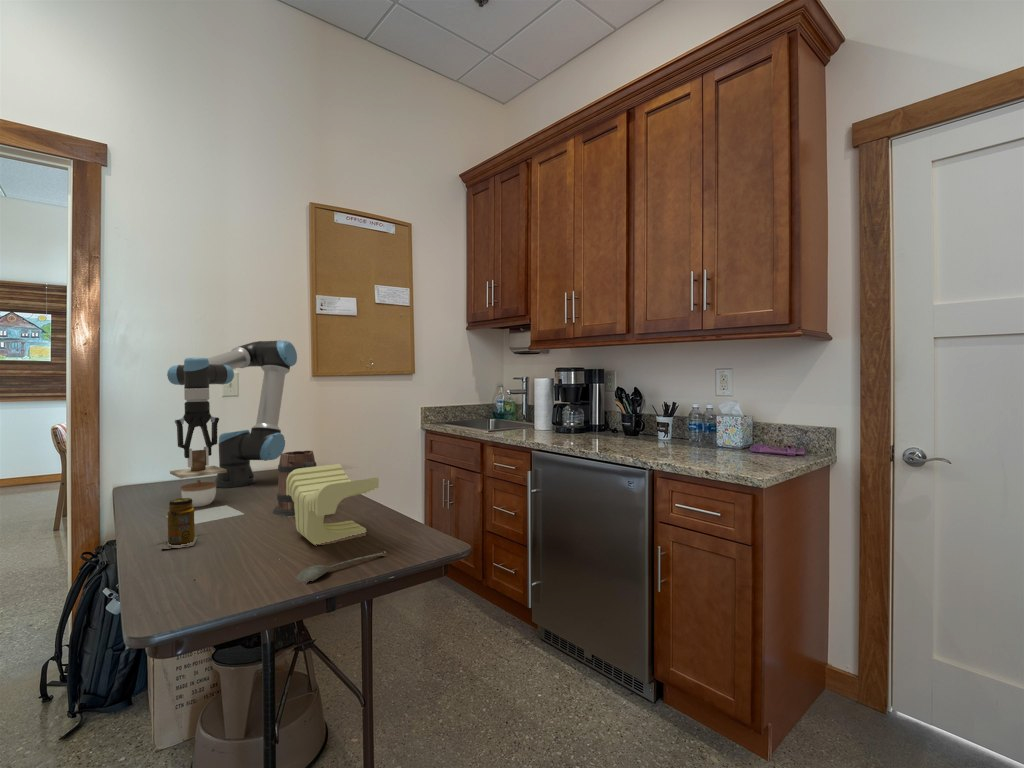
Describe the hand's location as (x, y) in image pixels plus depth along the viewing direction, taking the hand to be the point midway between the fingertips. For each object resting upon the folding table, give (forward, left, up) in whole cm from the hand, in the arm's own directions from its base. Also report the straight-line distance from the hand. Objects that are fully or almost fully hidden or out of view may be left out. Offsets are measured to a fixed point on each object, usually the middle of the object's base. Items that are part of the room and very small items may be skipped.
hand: (198, 465), depth 174 cm
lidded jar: (0, 0, -15) cm, 15 cm away
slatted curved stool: (-14, +70, -15) cm, 73 cm away
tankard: (-20, +38, -15) cm, 45 cm away
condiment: (+16, +44, -15) cm, 49 cm away
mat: (+3, +18, -14) cm, 23 cm away
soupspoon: (-4, +95, -15) cm, 96 cm away
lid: (0, 0, -3) cm, 3 cm away
